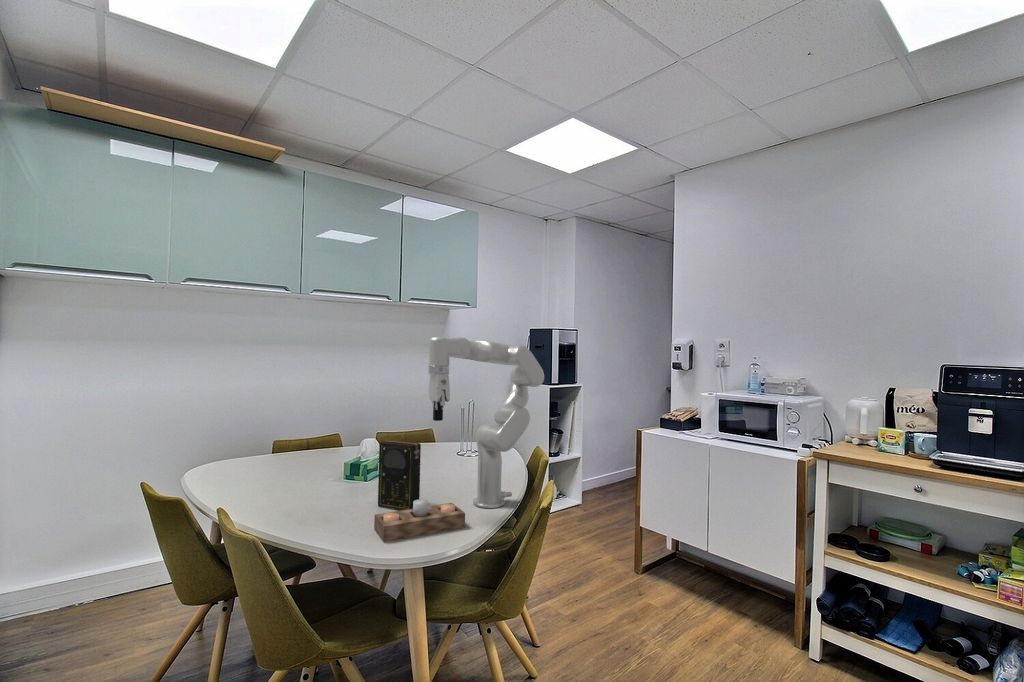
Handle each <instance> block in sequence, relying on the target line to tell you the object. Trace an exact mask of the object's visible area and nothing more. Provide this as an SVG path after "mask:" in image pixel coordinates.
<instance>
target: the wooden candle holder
mask: <svg viewBox="0 0 1024 682" xmlns="http://www.w3.org/2000/svg"><path fill="white" fill-rule="evenodd" d="M445 504H452V505H455V504H454V503H453V502H448V503H441V504H436V505H428V516H423V517H417V518H414V517H413V509H408V510H396V511H389V512H383V513H377V514H374V521H373V522H374V527H373V530H374V531H375V532H376V535H378V537H379V538H380V540H381V541H382V542H383V543H388V542H393V541H398V540H403V539H409V538H415V537H420V536H425V535H431V534H435V533H436V534H437V533H442V532H448V531H452V530H458V529H463V528H466V512H465V511H463V510H462V509H461V508H460V507H458V506H457V505H455V511H454V512H448V513H442V512H441V506H442V505H445ZM387 513H398V514H399V521H393V522H386V523H384V521H383V519H384V515H385V514H387Z"/></svg>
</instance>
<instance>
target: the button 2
mask: <svg viewBox="0 0 1024 682" xmlns="http://www.w3.org/2000/svg"><path fill="white" fill-rule="evenodd" d="M444 504H445V505H442V506H441V512H442V513H448V512H454V511H455V506H456V505H455V504H454V505H452V504H447V503H444Z"/></svg>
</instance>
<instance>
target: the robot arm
mask: <svg viewBox="0 0 1024 682" xmlns="http://www.w3.org/2000/svg"><path fill="white" fill-rule="evenodd" d="M428 344H429V345H428V375H429V383H428V385H429V386H428V398H429V400H430V401H431V404H432V409H433V410H432V420H433V421H435V422H442V421H443V419H444V418H443V417H444V407H445V406H446V402H450V399H451V397H450V395H451V393H450V391H451V390H450V389H451V388H450V377H449V376H450V358H454V359H463V360H469V361H474V362H481V363H488V364H490V363H491V364H498V365H502V366H503V365H504V366H514V367H513V368H512V369H511V370H510V374H509V379H510V391H509V393H508V395H507V396H506V397H505V399H504V400H503V401H502V403H501V404H500V406H499V407H497V410H496V411H495V412H494V415H493V420H494V421H495V423H496V424H493V423H484V424H481V425H480V426H479V427H478V429H477V431H476V435H475V436H476V438H475V441H476V447H477V485H476V487H477V488H476V489H477V492H476V495H477V496H476V497H475V498H474V499H473V501H472V503H473V505H474V506H476V507H478V508H483V509H495V508H496V509H497V508H500V507H503V506H504V505H505V502H506V500H505V498H509V497H512V496H513V495H512V493H513V492H512V491H506V490H503V491H502V468H503V467H502V466H503V461H502V460H503V459H502V457H503V456H502V453H505V452H509V451H510V450H511V449H513V447H514V446H515V445H516V443H518V441H519V440H520V438H521V437H522V436H523V434H524V433H525V432H526V430H527V429H528V426H529V424H530V422H531V421H530V420H531V415H530V414H531V413H530V412H529V410H528V409H527V408H526V406H527V405H528V402H529V389H528V388H529V387H532V388H538V387H539V386H542V384H543V383H544V380H545V374H544V373H545V372H544V370H543V368H542V366H541V365H540V363H539V362H538V360H537V358H536V357H535V355H534V354H533V353H532V351H531V350H530V349H529V348H528V347H527V346H526V345H522V344H507V343H501V342H495V341H490V340H469V339H467V338H465V337H461V336H458V337H455V336H452V337H450V336H449V337H445V336H443V337H442V336H433V337H431V338H430V339H429V343H428Z"/></svg>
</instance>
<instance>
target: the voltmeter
mask: <svg viewBox="0 0 1024 682" xmlns="http://www.w3.org/2000/svg"><path fill="white" fill-rule="evenodd" d="M378 445H379V449H378V450H379V451H378V484H377V485H378V487H377V490H378V491H377V506H378V507H379V508H386V509H392V510H396V511H401V510H408V509H413V501H415V500H419V499H420V496H421V495H420V494H421V492H420V491H421V489H420V487H421V483H420V482H421V450H422V449H421V448H422V447H421V446H422V445H421V443H420V442H411V441H403V440H402V441H400V440H391V439H390V440H383V441H380V442H379V444H378Z"/></svg>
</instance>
